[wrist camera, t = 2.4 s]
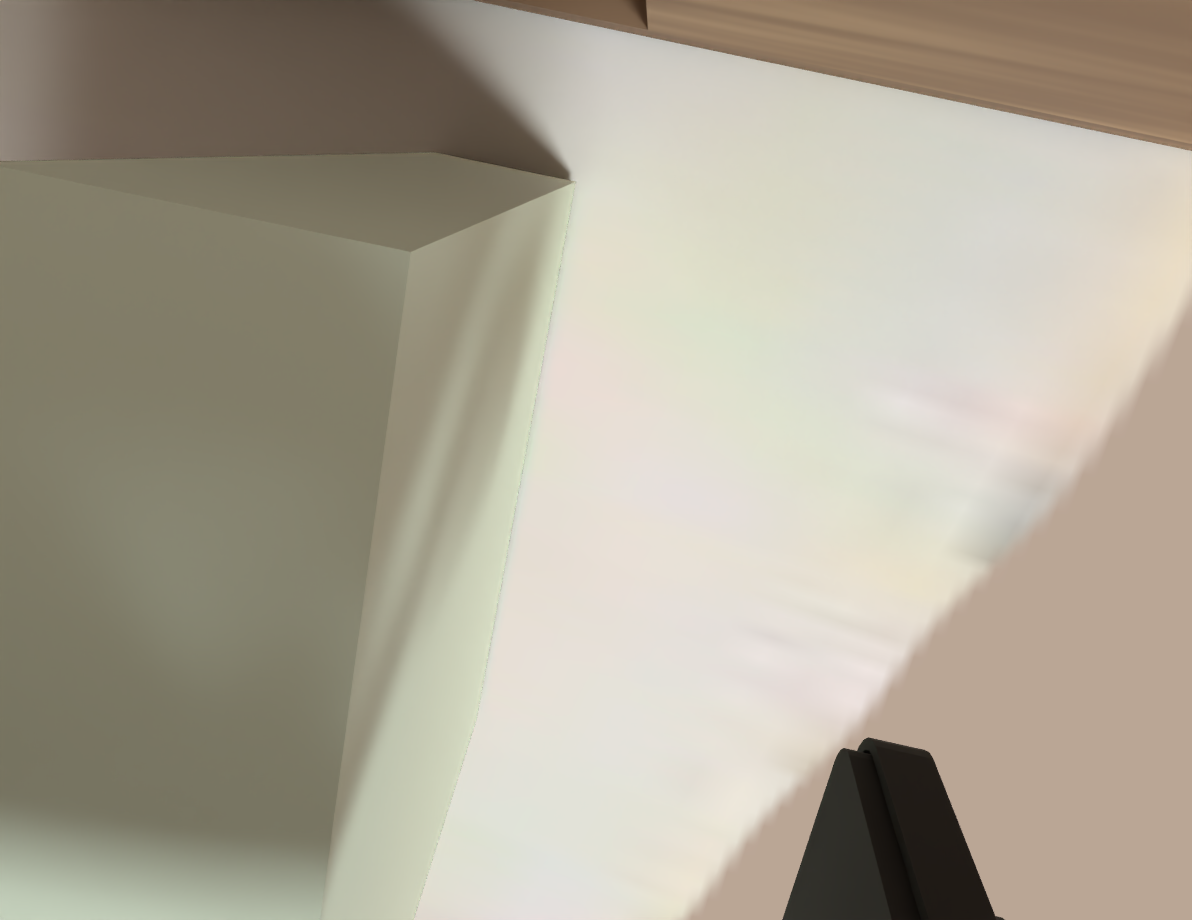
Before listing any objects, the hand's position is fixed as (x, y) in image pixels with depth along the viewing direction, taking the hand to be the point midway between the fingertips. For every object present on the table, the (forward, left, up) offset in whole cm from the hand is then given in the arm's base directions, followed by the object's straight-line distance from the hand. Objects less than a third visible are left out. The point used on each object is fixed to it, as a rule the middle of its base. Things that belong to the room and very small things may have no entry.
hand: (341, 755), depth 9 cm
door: (0, +1, -10) cm, 10 cm away
